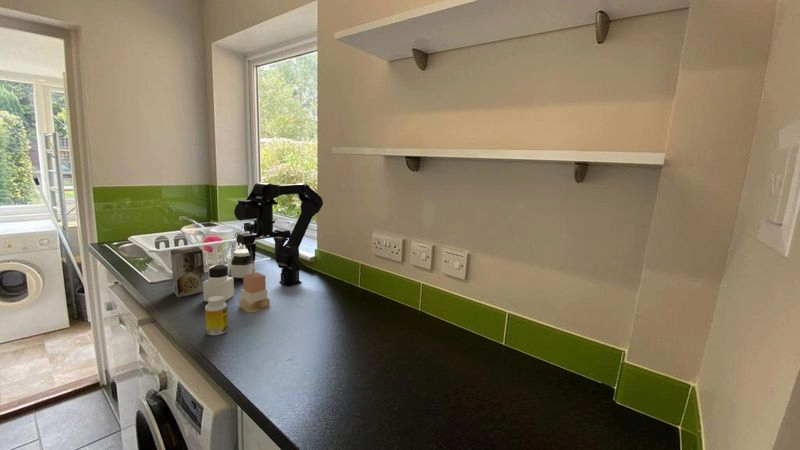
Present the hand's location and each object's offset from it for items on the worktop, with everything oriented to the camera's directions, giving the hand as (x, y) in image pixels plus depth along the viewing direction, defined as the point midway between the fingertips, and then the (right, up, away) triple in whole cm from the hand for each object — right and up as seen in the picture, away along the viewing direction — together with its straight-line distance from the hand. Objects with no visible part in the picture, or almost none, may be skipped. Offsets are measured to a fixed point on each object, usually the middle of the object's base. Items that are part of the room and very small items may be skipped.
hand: (265, 258), depth 130 cm
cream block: (+1, -12, -12) cm, 17 cm away
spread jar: (-17, -10, +17) cm, 26 cm away
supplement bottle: (-2, -19, -29) cm, 35 cm away
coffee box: (-27, -12, -2) cm, 30 cm away
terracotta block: (+1, -9, -13) cm, 16 cm away
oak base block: (+1, -16, -12) cm, 20 cm away
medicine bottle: (-14, -14, -6) cm, 21 cm away
